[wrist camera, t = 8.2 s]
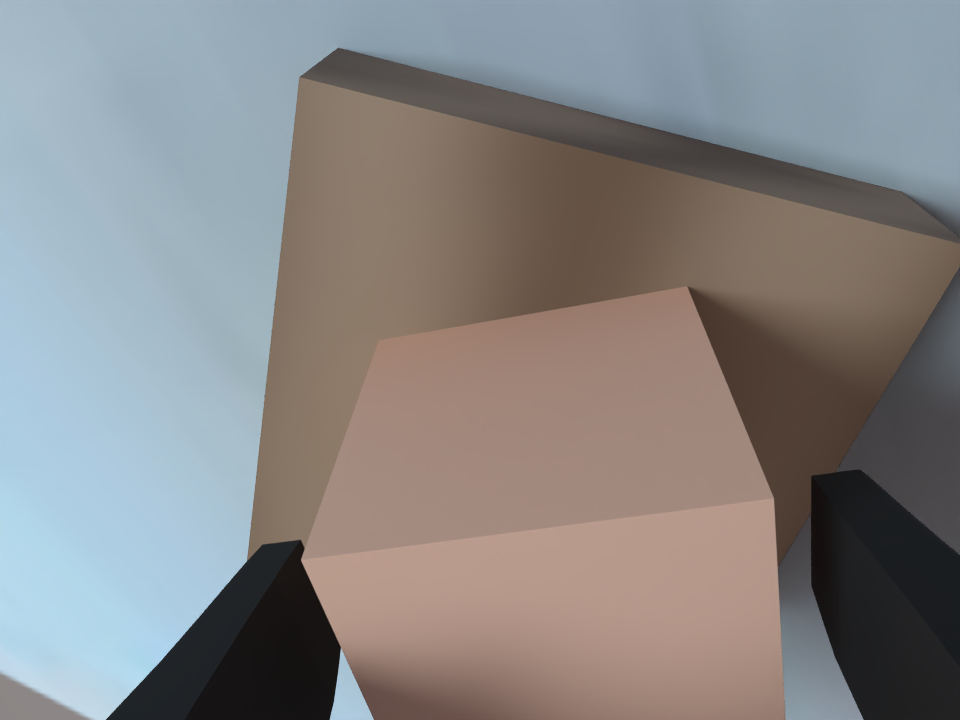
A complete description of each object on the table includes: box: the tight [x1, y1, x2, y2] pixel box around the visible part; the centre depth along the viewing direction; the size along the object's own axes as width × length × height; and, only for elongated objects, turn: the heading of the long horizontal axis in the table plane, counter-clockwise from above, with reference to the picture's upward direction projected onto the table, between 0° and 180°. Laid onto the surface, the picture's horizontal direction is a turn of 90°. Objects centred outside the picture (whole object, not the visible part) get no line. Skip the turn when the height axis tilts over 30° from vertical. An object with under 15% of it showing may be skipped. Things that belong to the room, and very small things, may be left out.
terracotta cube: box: [301, 286, 785, 720], centre depth 11 cm, size 5×5×5 cm
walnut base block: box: [247, 48, 960, 566], centre depth 15 cm, size 10×10×3 cm
